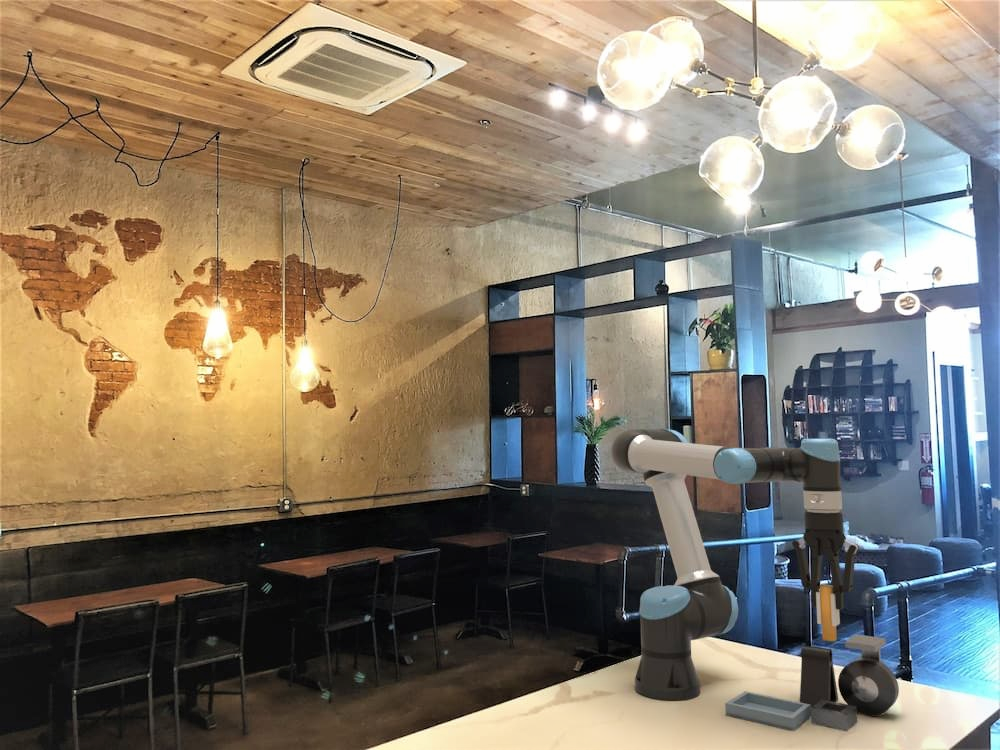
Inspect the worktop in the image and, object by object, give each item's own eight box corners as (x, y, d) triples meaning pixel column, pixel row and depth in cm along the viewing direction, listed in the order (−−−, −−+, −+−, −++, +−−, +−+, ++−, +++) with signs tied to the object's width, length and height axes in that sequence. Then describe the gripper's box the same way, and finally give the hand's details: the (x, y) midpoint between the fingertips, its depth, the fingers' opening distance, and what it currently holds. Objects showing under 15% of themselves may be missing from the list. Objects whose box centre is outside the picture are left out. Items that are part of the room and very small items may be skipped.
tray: (725, 715, 162) (725, 703, 162) (745, 702, 169) (745, 691, 170) (793, 731, 152) (792, 718, 152) (811, 716, 160) (810, 704, 160)
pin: (820, 639, 158) (817, 586, 159) (824, 637, 160) (821, 584, 161) (834, 641, 156) (831, 587, 158) (838, 639, 159) (835, 585, 160)
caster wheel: (836, 712, 163) (833, 639, 164) (848, 702, 169) (844, 632, 170) (892, 723, 155) (888, 647, 157) (902, 713, 162) (898, 640, 163)
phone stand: (828, 711, 164) (824, 654, 165) (799, 705, 167) (796, 649, 168) (838, 699, 171) (835, 645, 172) (811, 694, 174) (808, 641, 175)
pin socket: (811, 723, 156) (810, 708, 157) (822, 713, 162) (821, 699, 162) (847, 731, 152) (846, 715, 152) (857, 721, 157) (856, 706, 157)
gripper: (780, 510, 163) (785, 621, 161) (855, 514, 153) (862, 632, 151) (793, 507, 169) (798, 615, 167) (866, 511, 159) (872, 625, 157)
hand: (828, 623), depth 159 cm, fingers closed on pin, 2 cm apart
